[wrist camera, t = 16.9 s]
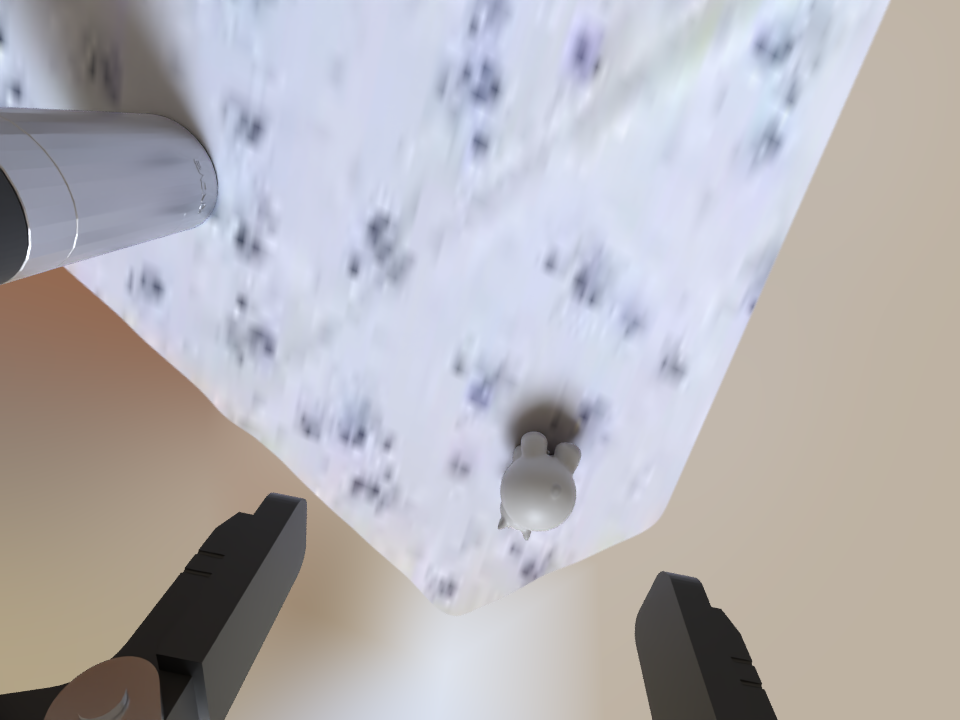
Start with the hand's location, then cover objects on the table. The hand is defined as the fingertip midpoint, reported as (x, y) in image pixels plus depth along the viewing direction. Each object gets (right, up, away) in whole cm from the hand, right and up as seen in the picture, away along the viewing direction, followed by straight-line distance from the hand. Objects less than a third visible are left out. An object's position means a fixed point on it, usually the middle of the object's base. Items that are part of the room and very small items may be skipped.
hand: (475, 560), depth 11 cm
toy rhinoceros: (+6, -7, +40) cm, 41 cm away
